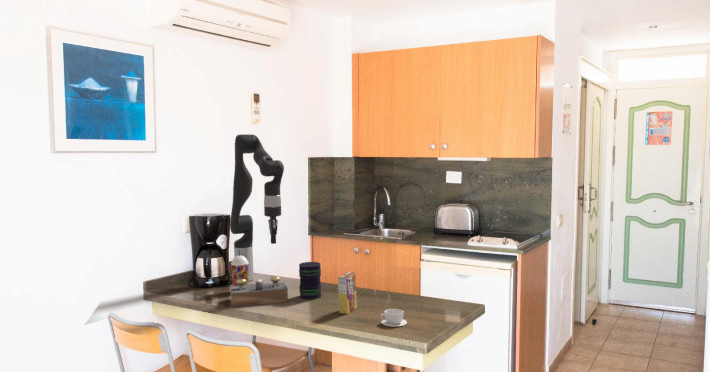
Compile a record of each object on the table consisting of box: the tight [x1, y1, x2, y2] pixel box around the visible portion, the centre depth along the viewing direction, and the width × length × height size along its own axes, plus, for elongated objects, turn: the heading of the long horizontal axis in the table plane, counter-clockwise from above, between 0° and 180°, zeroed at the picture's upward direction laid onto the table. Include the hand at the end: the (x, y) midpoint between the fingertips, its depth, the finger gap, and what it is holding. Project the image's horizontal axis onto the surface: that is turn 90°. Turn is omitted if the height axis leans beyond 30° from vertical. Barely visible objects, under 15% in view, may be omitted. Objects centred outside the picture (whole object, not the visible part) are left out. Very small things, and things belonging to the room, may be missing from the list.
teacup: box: [380, 308, 408, 328], centre depth 219 cm, size 10×10×5 cm
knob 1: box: [237, 279, 246, 290], centre depth 252 cm, size 4×4×9 cm
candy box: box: [337, 271, 357, 315], centre depth 236 cm, size 9×4×15 cm, turn 156°
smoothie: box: [230, 250, 249, 286], centre depth 269 cm, size 8×8×20 cm
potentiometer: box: [255, 279, 263, 290], centre depth 250 cm, size 3×3×4 cm
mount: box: [230, 281, 289, 307], centre depth 254 cm, size 12×24×6 cm, turn 104°
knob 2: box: [270, 275, 281, 287], centre depth 256 cm, size 4×4×9 cm
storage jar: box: [298, 261, 322, 301], centre depth 258 cm, size 10×10×15 cm
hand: (273, 243), depth 257 cm, fingers closed
